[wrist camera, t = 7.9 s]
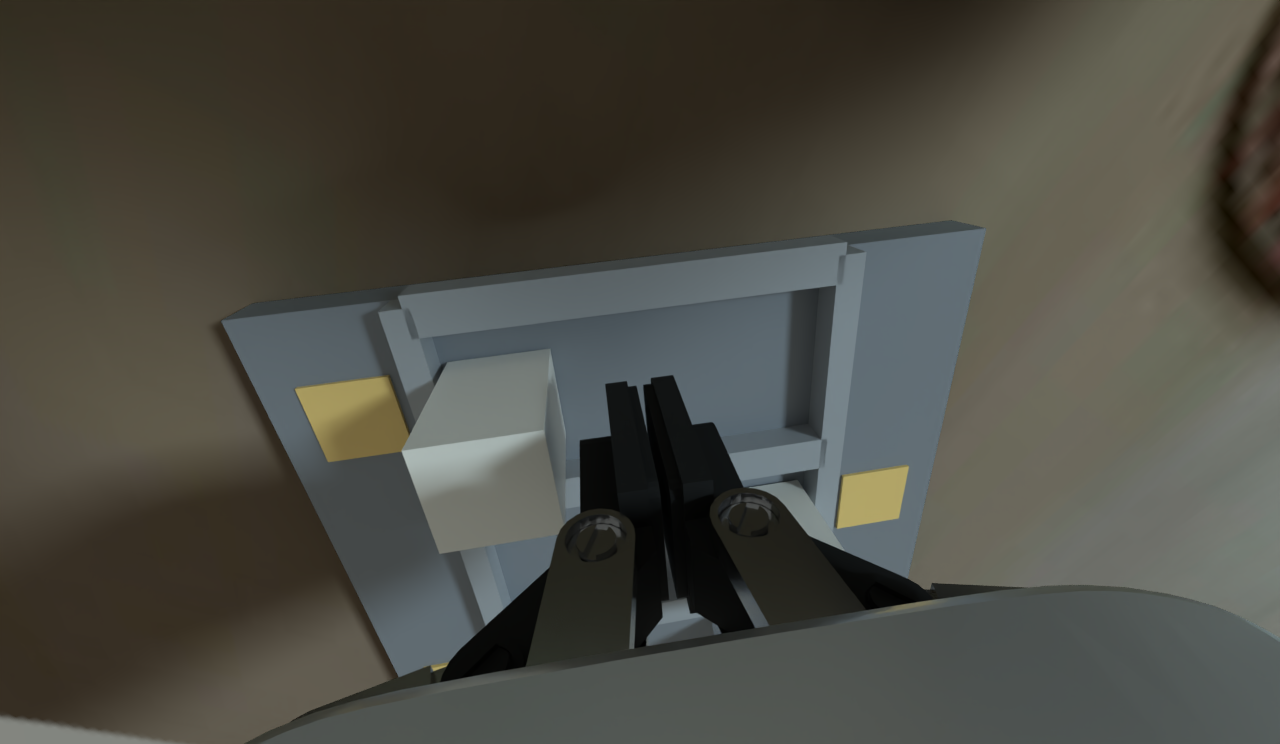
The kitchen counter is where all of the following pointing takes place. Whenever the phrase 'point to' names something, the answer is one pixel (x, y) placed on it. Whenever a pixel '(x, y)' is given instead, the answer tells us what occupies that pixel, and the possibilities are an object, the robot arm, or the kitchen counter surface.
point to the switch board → (634, 352)
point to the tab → (491, 452)
